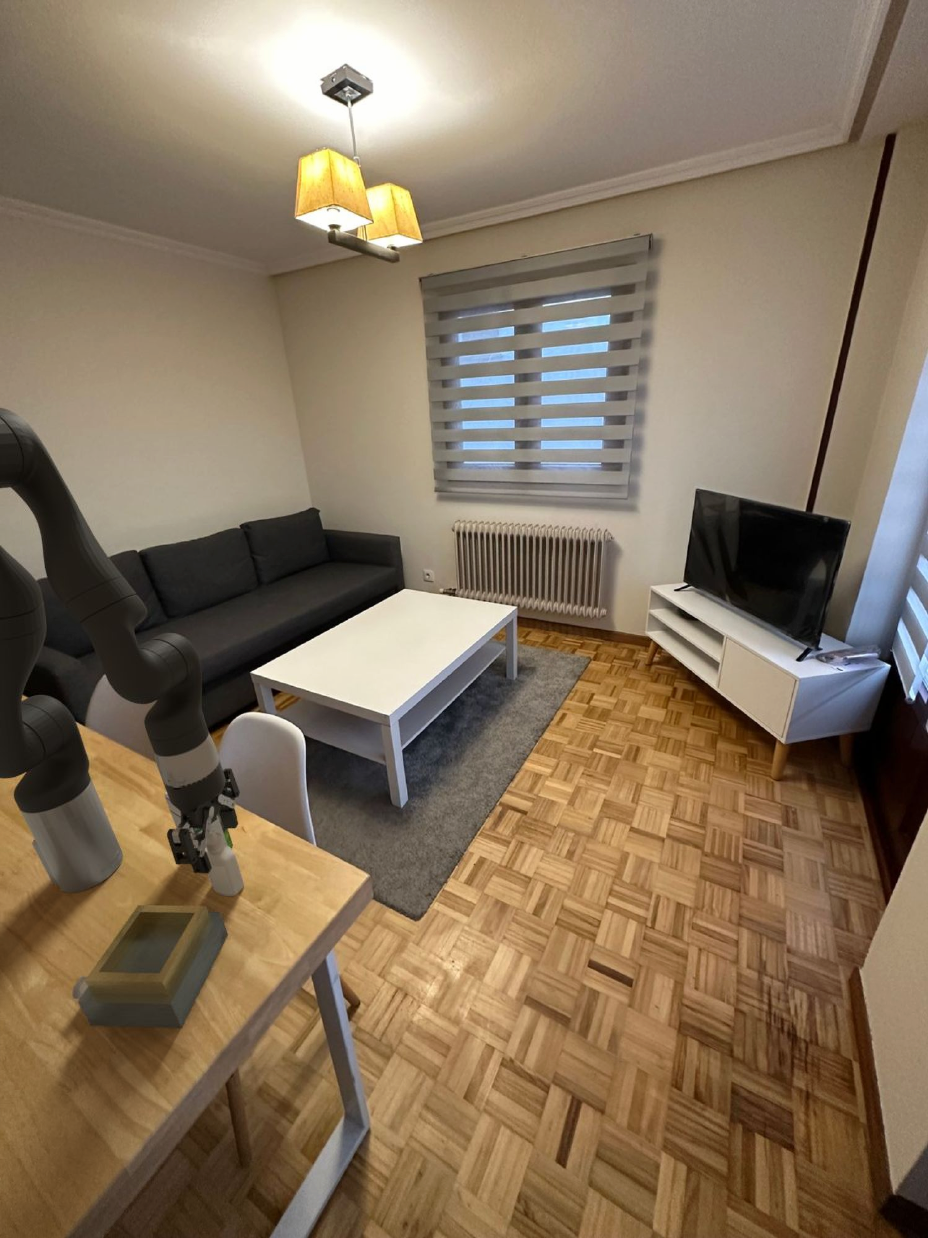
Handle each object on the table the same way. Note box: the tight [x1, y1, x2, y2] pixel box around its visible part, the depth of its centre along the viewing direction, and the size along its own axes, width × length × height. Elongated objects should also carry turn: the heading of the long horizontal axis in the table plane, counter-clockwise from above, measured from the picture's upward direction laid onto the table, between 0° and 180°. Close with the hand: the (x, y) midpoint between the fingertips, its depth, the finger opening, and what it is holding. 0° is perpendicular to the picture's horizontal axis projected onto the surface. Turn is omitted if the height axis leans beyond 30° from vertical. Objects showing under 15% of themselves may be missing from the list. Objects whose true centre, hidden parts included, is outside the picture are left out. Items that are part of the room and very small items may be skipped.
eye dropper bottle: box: [205, 830, 245, 897], centre depth 77 cm, size 4×6×12 cm
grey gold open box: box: [71, 904, 229, 1029], centre depth 65 cm, size 15×12×8 cm
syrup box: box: [164, 791, 234, 849], centre depth 84 cm, size 6×6×14 cm
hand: (218, 848), depth 76 cm, fingers open, 8 cm apart
